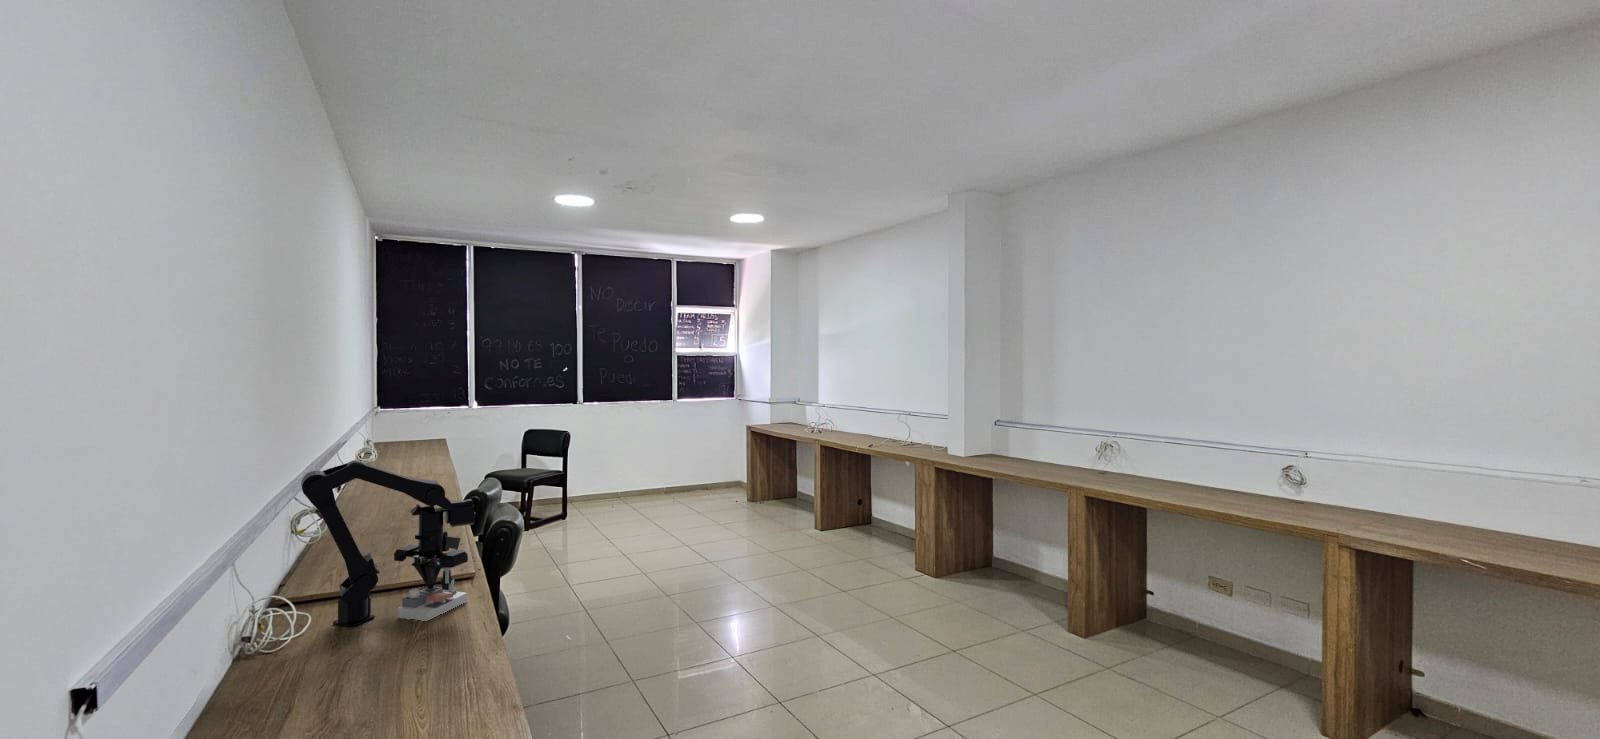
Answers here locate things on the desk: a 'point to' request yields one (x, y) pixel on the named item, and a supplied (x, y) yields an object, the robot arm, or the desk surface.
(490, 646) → the desk surface
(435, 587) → the button black
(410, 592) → the button ivory
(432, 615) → the panel
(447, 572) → the grey post with knob
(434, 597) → the rocker
